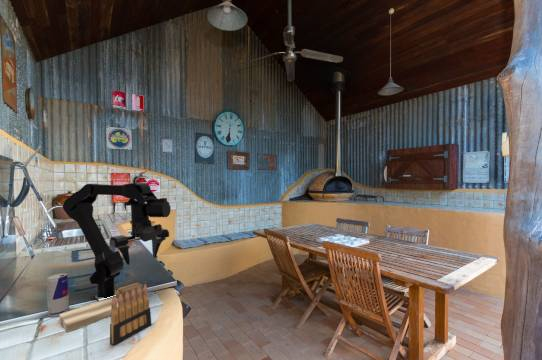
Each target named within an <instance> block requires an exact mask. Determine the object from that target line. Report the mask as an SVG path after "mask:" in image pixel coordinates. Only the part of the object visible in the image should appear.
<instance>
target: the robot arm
mask: <svg viewBox="0 0 542 360" xmlns="http://www.w3.org/2000/svg"><path fill="white" fill-rule="evenodd" d="M99 195H100V196H121V197H123V198H125V199H128V200H127V202H125V203H124V206H127V207H128V206H130V217H131V218H130V219H131V220H129V222H130V223H129V224H130V225H131V231H130V235H129V236H128V235H127V236H126V235H116V236H111V237H110V238H109V240H108V242H109V244H108V243H107V241H106V239H105V237H104V235H103V233H102V232H101V230H100V227H99V226H98V223H97V222H96V220H95V219H94V216H93V213H94V206H93V205H94V203H95V202H96V201H97V199H98V196H99ZM62 209H63V211H64V212H65V214H66V215H67V216H68V217H69V218H70V219H71V220H73V221H75V222H76V223H77V224H78V227H79V229H80V230H81V232H82V234H83V236H84V238H85V240H86V241H87V244H88V246H89V247H90V249H91V251H92V253H93V255H94V257H95V258H94V269H95V271H94V272H93V274H91V276H90V277H89V278H88V279H89V282H90V283H91V285H96V295H97V297H104V298H107V297H110V296H113V295H114V293H115V290H116V277H118V276H120V274H121V271H122V270H123V268H124V261H125V263H126V264H127V265H128V266H130V263H131V262H130V254H129V253H130V252H129V249H130V245H129V243H130V242H137V241H142V242H145V243H146V242H148V241H151V247H152V248H151V250H152V257H153V258H154V259H157V255H158V253H159V250H160V249H159V248H160V247H161V244H162V243H163V241H166V240H167V238H170V231H169V230H168V229H167V228H163V226H162V224H161V223H160V224H155V225H152V221H151V219H150V218H167V217H169V216H170V214H171V211H172V210H171V205H170V202H169V201H168V198H167V197H160V198H158V197H157V196H156V195H155V193H154V192H153V191H152V189H151V187H150V185H149V183H147V182H132V183H131V182H130V183H125V184H103V183H102V184H100V183H86V184H85V185H83V186H82V187H81V189H79V190H77V191H76V192H74V193H72V194H71V195H70V196H69V197H68V198H66V199H64V201H63V204H62ZM109 246H111V247H113V248H116V249H117V250H115V251H113V250H112V249H110V247H109ZM118 250H119V251H118ZM127 265H126V266H127Z"/></svg>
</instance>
